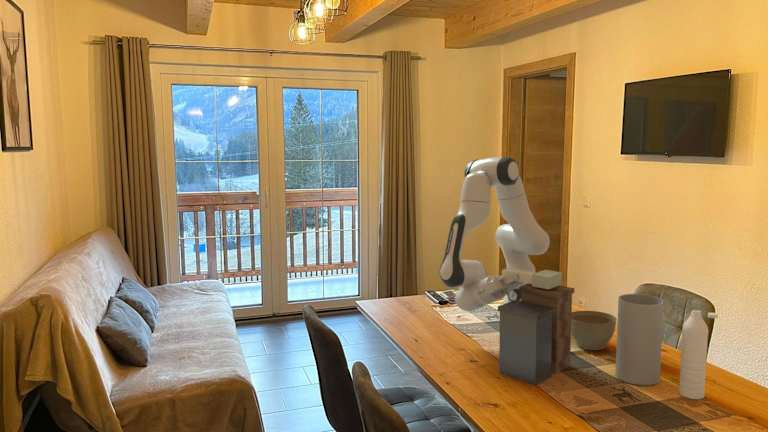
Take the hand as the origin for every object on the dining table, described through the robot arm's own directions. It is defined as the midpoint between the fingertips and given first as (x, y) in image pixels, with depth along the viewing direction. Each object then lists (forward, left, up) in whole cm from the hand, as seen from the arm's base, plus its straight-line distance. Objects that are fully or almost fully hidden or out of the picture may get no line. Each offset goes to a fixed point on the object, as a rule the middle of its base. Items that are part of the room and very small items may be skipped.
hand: (522, 274), depth 192 cm
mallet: (0, +3, -2) cm, 3 cm away
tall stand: (0, +9, -29) cm, 30 cm away
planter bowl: (-26, +12, -29) cm, 41 cm away
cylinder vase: (-10, +35, -29) cm, 47 cm away
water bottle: (-9, +52, -29) cm, 60 cm away
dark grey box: (+12, +9, -29) cm, 32 cm away
